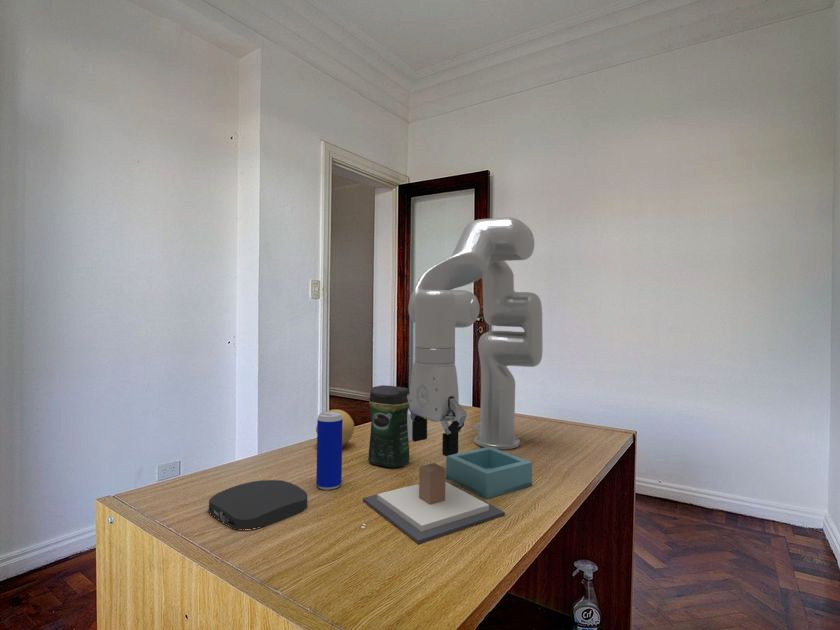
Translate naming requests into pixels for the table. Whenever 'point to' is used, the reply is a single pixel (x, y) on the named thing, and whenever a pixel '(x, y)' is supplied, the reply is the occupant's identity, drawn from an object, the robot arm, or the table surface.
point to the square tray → (489, 471)
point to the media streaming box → (257, 503)
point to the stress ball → (345, 426)
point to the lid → (432, 500)
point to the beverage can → (329, 450)
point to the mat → (434, 532)
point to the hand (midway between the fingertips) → (434, 446)
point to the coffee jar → (389, 426)
